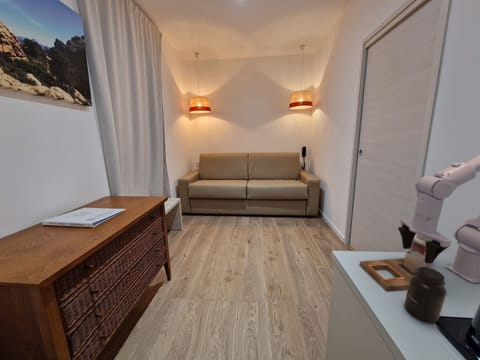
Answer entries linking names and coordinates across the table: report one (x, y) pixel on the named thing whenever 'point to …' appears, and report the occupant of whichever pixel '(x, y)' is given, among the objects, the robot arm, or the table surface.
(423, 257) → the beige rectangular block
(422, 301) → the supplement bottle
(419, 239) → the pill bottle
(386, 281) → the wooden shape sorting board
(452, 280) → the table surface
